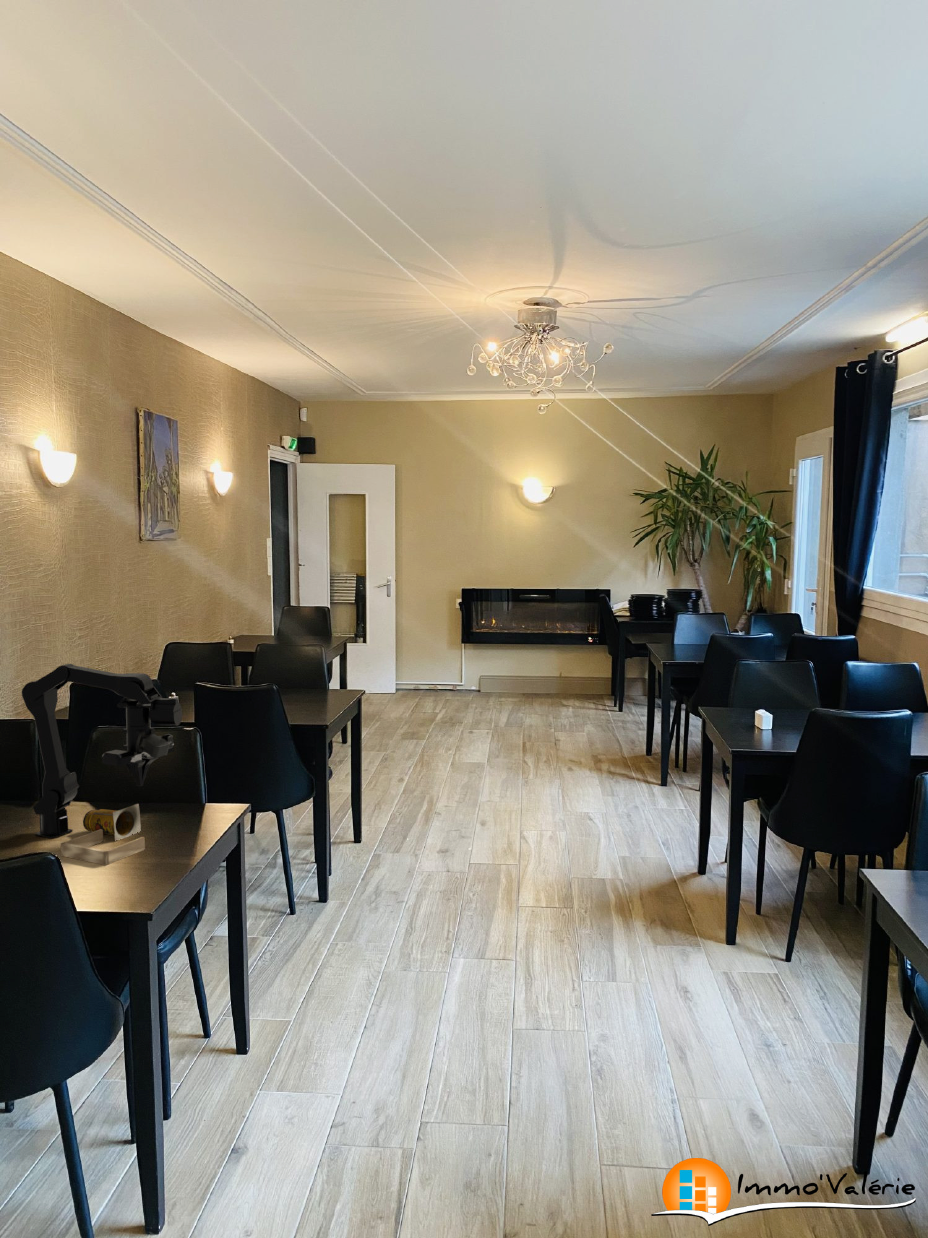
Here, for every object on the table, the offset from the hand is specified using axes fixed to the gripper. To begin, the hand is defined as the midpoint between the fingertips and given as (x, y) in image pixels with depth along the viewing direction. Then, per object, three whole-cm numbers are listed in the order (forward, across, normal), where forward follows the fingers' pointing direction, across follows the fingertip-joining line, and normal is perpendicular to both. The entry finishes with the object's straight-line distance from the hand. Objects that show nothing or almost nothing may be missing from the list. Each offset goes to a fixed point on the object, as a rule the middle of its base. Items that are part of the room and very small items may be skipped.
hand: (139, 785), depth 225 cm
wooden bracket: (+13, -13, -2) cm, 19 cm away
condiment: (+9, -2, +2) cm, 10 cm away
